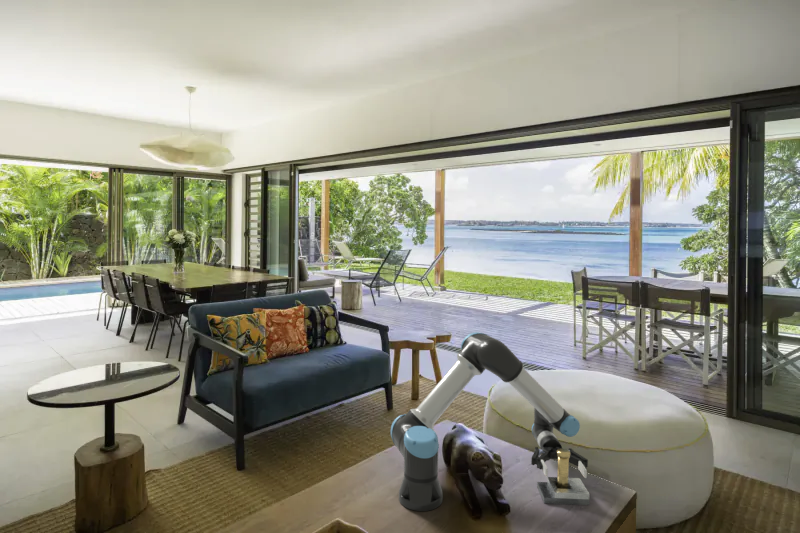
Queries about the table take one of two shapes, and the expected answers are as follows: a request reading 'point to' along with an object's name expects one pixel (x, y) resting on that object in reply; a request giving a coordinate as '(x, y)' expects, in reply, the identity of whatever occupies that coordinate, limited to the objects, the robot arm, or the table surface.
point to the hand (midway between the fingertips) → (566, 473)
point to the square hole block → (563, 492)
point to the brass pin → (563, 468)
